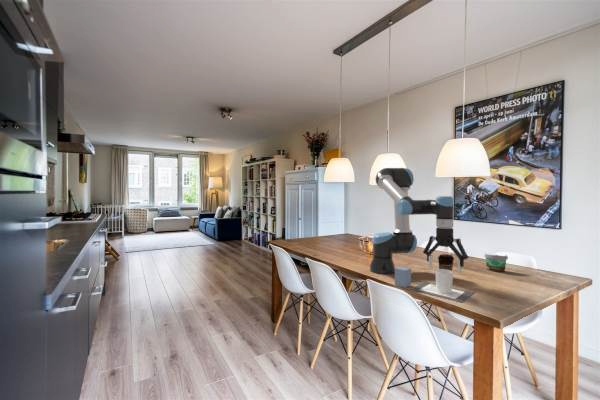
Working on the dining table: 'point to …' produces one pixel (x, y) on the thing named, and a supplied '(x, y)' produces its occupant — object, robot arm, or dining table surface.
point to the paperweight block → (402, 276)
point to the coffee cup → (446, 261)
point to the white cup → (444, 280)
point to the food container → (495, 262)
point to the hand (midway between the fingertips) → (444, 270)
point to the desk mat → (458, 299)
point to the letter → (432, 289)
